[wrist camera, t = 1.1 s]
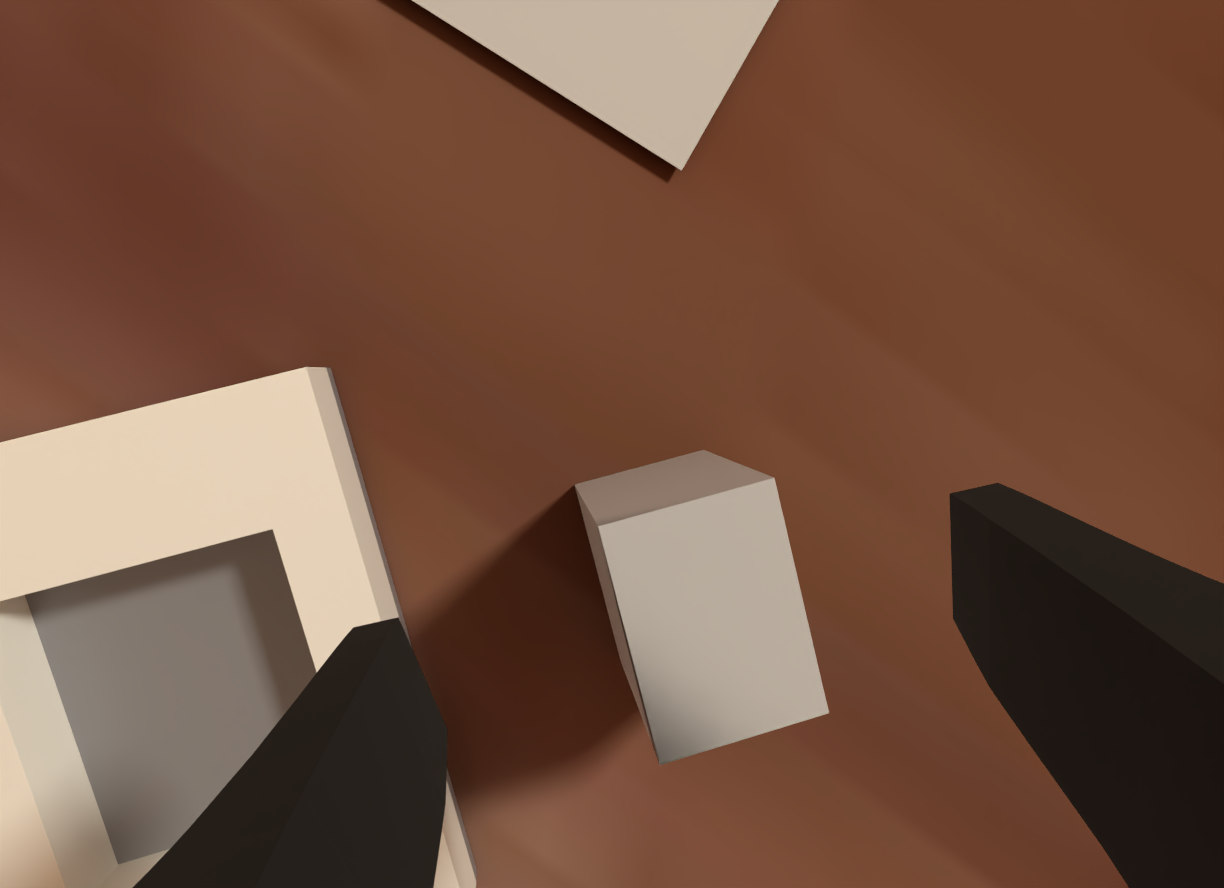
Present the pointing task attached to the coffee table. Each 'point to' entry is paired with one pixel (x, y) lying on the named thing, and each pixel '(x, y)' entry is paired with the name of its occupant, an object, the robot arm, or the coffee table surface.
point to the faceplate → (173, 616)
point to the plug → (702, 601)
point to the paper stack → (623, 56)
